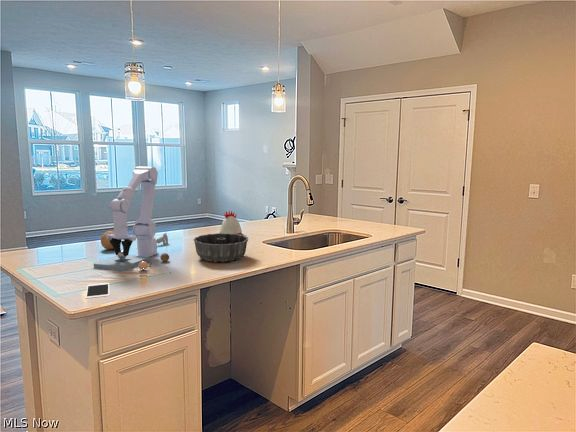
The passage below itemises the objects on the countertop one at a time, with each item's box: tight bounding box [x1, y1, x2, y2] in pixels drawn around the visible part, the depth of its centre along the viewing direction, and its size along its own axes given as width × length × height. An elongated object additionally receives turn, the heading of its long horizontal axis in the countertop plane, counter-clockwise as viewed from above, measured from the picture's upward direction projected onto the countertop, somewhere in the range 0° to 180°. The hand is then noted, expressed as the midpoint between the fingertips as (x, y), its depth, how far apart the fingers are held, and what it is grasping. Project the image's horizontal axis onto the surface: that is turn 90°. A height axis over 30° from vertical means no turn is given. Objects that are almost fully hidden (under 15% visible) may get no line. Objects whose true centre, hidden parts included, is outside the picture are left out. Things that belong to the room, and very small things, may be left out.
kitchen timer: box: [219, 210, 243, 236], centre depth 263 cm, size 14×14×15 cm
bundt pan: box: [193, 232, 249, 263], centre depth 204 cm, size 26×26×10 cm
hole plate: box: [93, 254, 151, 272], centre depth 191 cm, size 18×16×2 cm
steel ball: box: [116, 249, 126, 259], centre depth 191 cm, size 4×4×4 cm
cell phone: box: [85, 282, 111, 299], centre depth 156 cm, size 8×16×1 cm, turn 23°
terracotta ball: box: [137, 261, 149, 271], centre depth 182 cm, size 4×4×4 cm
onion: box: [100, 230, 114, 250], centre depth 220 cm, size 10×10×10 cm
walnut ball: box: [159, 252, 170, 263], centre depth 197 cm, size 4×4×4 cm
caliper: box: [156, 232, 169, 245], centre depth 228 cm, size 20×1×6 cm, turn 151°
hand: (122, 255), depth 191 cm, fingers closed on steel ball, 4 cm apart
